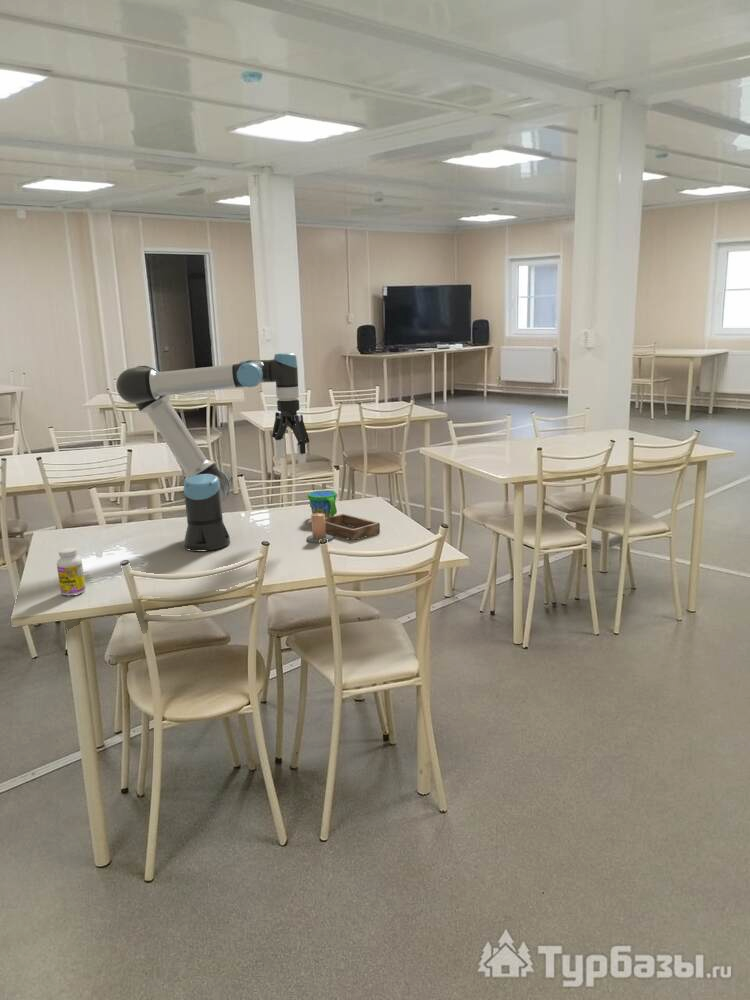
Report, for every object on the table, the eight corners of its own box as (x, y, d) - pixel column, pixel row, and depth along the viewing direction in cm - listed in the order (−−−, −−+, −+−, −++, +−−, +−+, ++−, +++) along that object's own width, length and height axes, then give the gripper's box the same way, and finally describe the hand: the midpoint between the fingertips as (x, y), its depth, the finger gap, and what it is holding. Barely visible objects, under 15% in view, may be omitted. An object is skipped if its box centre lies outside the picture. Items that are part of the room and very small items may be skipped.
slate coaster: (317, 544, 255) (317, 542, 255) (301, 539, 261) (301, 537, 261) (338, 538, 261) (338, 537, 260) (322, 533, 267) (322, 532, 267)
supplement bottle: (56, 597, 216) (49, 553, 213) (69, 588, 223) (62, 546, 220) (78, 597, 215) (72, 553, 212) (90, 589, 222) (84, 546, 219)
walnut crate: (353, 540, 258) (352, 530, 257) (317, 529, 272) (316, 520, 272) (379, 532, 265) (379, 522, 265) (343, 522, 280) (342, 513, 279)
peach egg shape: (318, 540, 258) (316, 517, 256) (310, 537, 261) (308, 515, 259) (329, 537, 261) (327, 514, 259) (320, 534, 264) (319, 512, 262)
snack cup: (345, 522, 281) (344, 495, 279) (319, 526, 276) (317, 499, 274) (328, 513, 295) (326, 487, 292) (302, 517, 290) (300, 491, 287)
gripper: (317, 400, 254) (320, 463, 259) (278, 395, 273) (281, 454, 278) (298, 402, 250) (301, 466, 255) (259, 397, 269) (263, 457, 274)
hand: (291, 460), depth 267 cm, fingers open, 13 cm apart
